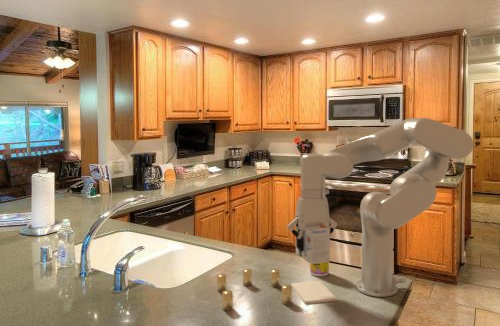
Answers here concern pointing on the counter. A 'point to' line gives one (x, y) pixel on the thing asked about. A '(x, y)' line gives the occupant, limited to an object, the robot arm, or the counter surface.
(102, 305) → the counter surface
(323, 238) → the light bulb box
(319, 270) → the supplement bottle
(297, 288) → the plate
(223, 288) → the brass cylinders
